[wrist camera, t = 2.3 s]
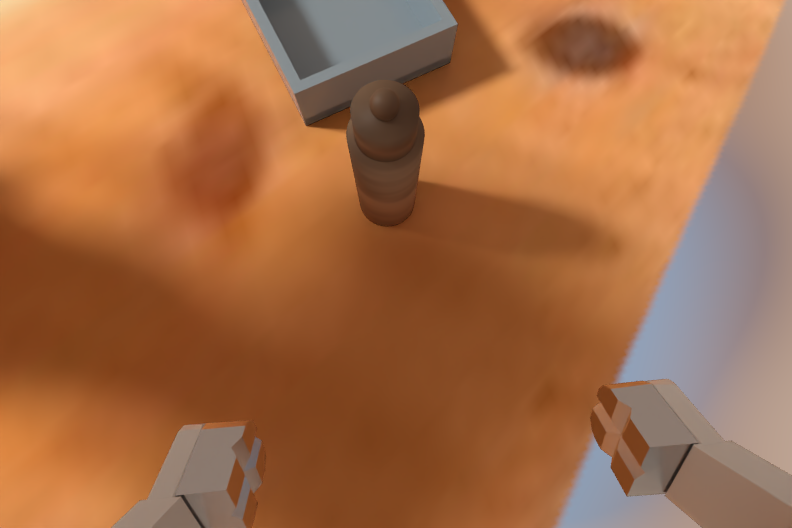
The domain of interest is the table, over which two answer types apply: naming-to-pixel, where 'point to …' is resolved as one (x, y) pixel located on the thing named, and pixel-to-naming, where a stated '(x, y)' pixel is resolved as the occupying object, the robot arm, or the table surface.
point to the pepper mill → (385, 150)
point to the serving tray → (350, 45)
